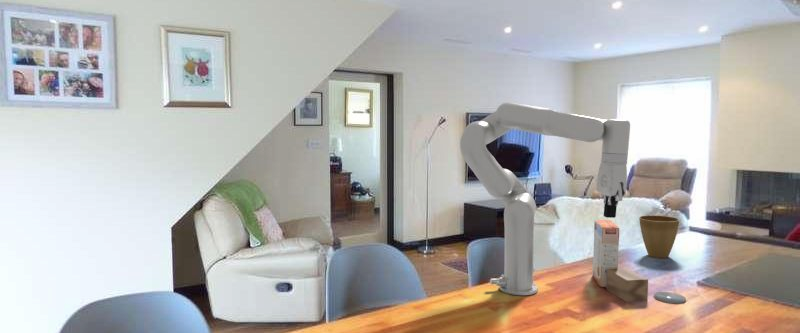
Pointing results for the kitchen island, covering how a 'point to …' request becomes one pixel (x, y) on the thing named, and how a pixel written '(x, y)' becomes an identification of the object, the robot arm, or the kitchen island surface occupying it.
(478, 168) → the robot arm
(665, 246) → the plant pot
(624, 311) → the kitchen island surface
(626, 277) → the brown block
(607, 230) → the cracker box
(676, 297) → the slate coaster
